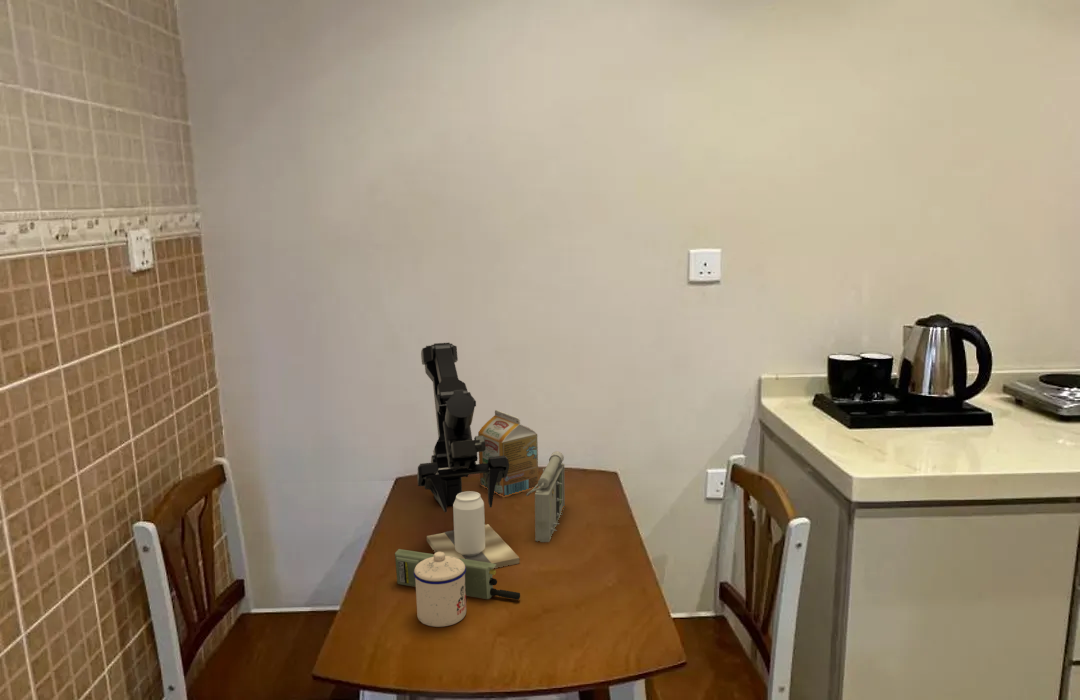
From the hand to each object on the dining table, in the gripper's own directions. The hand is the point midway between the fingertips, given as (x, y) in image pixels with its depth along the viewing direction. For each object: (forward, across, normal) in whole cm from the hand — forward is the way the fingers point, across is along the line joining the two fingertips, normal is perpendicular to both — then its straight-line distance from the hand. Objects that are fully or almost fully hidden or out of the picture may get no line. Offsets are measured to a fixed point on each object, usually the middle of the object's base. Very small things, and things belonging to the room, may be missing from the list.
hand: (468, 509), depth 163 cm
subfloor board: (+6, 0, +8) cm, 10 cm away
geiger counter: (-2, +20, +17) cm, 27 cm away
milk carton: (-18, +15, +32) cm, 40 cm away
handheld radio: (+17, -5, -3) cm, 18 cm away
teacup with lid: (+22, -8, -7) cm, 24 cm away
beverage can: (+7, 0, +6) cm, 9 cm away
